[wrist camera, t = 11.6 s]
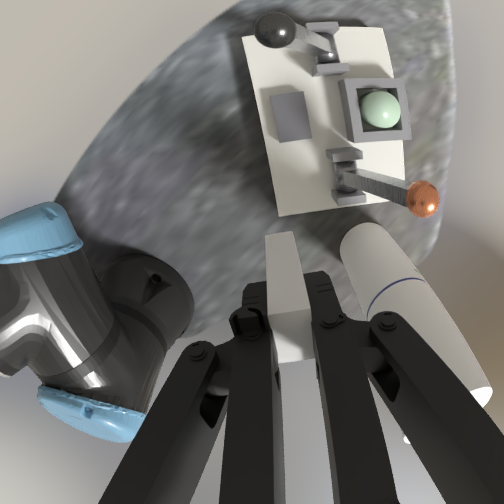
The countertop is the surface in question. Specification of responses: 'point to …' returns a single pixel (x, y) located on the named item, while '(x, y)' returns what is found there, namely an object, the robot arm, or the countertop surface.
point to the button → (379, 109)
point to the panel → (325, 117)
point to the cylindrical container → (407, 301)
